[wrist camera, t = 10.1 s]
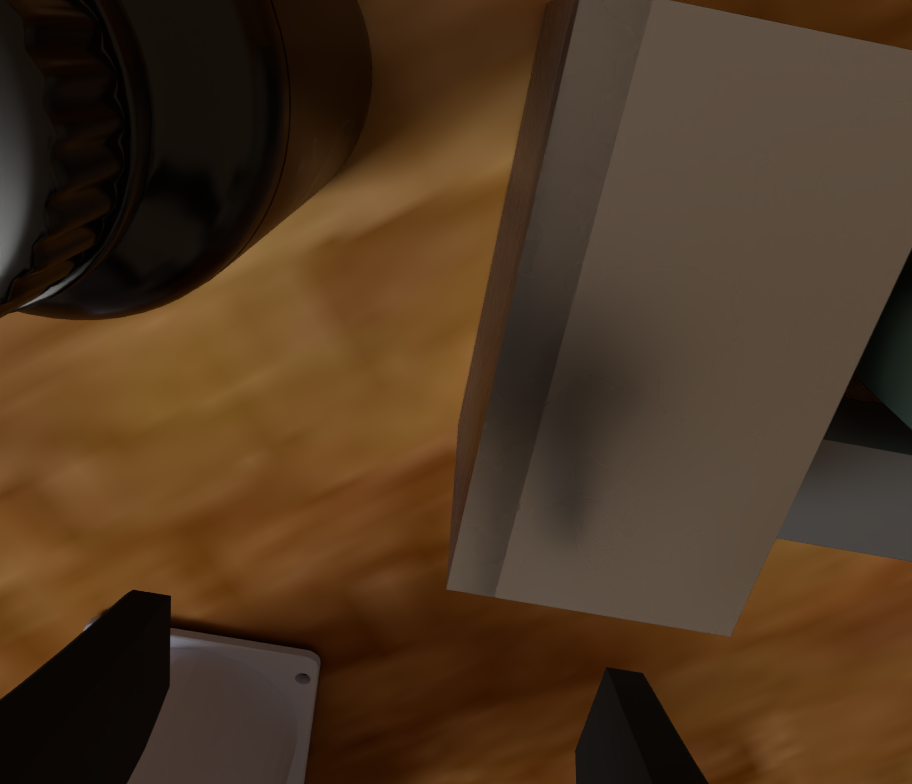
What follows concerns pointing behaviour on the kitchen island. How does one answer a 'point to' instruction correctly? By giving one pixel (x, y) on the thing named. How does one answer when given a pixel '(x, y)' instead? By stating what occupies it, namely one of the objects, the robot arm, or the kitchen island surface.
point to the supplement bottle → (163, 140)
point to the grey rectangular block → (674, 304)
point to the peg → (892, 351)
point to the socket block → (858, 484)
